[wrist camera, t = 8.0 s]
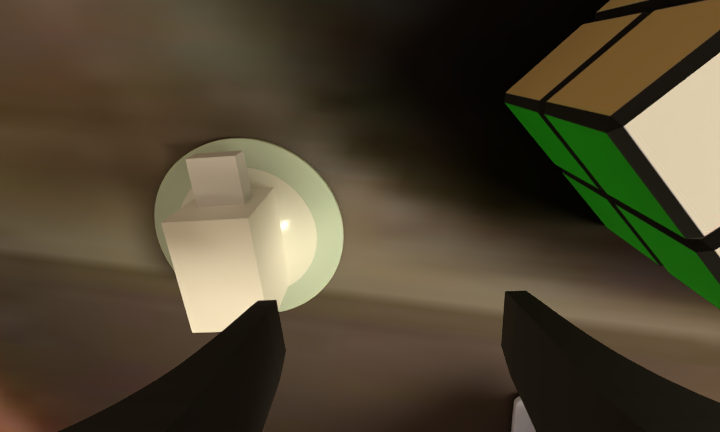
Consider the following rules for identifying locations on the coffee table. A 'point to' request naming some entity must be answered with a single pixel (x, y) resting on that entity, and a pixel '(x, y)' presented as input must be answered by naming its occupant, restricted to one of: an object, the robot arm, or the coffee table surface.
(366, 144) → the coffee table surface
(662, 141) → the puzzle cube
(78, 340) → the coffee table surface
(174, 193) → the coaster
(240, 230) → the connector
